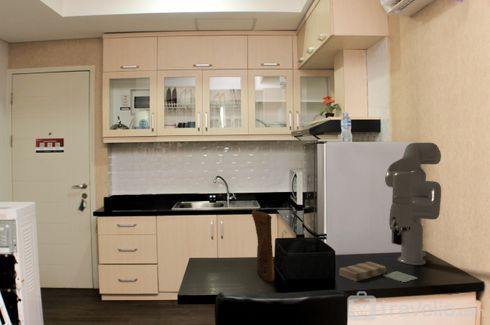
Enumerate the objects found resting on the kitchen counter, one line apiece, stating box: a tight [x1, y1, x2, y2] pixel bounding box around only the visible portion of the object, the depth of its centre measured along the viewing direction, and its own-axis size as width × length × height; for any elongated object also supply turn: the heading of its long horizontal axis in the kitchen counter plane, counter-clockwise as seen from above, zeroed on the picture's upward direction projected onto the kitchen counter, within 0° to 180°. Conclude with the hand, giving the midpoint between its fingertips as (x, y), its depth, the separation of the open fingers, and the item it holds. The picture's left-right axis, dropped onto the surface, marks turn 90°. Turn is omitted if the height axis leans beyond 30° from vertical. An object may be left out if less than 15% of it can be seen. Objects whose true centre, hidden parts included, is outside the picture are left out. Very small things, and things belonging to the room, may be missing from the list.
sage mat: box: [382, 270, 419, 283], centre depth 154 cm, size 10×10×1 cm
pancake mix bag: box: [251, 209, 275, 283], centre depth 154 cm, size 7×19×28 cm, turn 15°
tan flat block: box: [338, 261, 387, 282], centre depth 157 cm, size 20×9×3 cm, turn 123°
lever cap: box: [391, 228, 411, 246], centre depth 154 cm, size 4×6×6 cm
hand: (400, 242), depth 154 cm, fingers closed on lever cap, 4 cm apart
